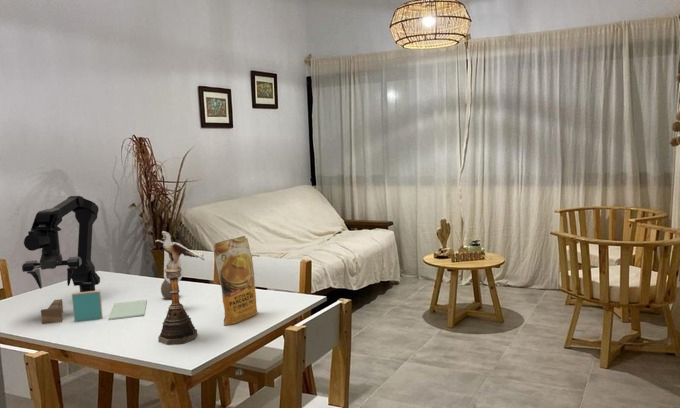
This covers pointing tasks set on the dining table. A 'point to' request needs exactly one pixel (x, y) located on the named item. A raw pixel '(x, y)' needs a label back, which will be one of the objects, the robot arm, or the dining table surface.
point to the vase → (166, 289)
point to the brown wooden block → (53, 313)
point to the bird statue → (176, 297)
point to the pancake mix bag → (236, 279)
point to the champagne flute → (166, 260)
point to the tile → (87, 305)
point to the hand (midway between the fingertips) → (54, 286)
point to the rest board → (128, 309)
